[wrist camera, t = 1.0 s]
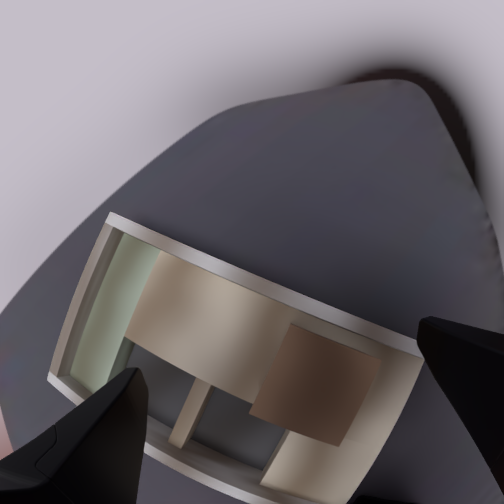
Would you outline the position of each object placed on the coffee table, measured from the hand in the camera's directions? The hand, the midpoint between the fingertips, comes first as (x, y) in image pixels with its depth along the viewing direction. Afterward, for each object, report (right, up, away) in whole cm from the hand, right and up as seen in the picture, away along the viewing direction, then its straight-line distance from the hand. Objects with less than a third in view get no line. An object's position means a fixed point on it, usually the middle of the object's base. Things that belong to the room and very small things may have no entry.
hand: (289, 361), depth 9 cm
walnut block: (+2, -4, +8) cm, 9 cm away
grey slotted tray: (-3, -5, +11) cm, 12 cm away
